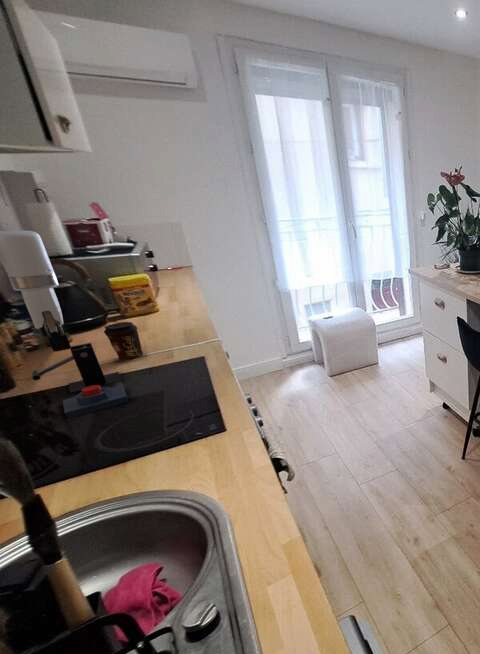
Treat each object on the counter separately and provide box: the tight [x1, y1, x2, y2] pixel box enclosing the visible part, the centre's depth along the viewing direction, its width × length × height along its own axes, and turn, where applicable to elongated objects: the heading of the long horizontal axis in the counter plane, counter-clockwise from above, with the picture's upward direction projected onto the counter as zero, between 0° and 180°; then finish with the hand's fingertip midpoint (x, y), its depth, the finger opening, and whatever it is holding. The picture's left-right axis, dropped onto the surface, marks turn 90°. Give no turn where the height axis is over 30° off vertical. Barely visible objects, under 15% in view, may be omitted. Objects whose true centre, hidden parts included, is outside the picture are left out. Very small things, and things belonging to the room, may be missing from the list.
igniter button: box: [80, 385, 102, 396], centre depth 113 cm, size 4×4×2 cm
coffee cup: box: [103, 321, 144, 362], centre depth 142 cm, size 9×8×13 cm
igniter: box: [62, 384, 130, 419], centre depth 114 cm, size 12×10×4 cm
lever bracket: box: [68, 342, 123, 394], centre depth 123 cm, size 11×9×13 cm
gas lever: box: [31, 346, 86, 381], centre depth 119 cm, size 13×5×2 cm, turn 140°
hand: (62, 349), depth 108 cm, fingers closed
